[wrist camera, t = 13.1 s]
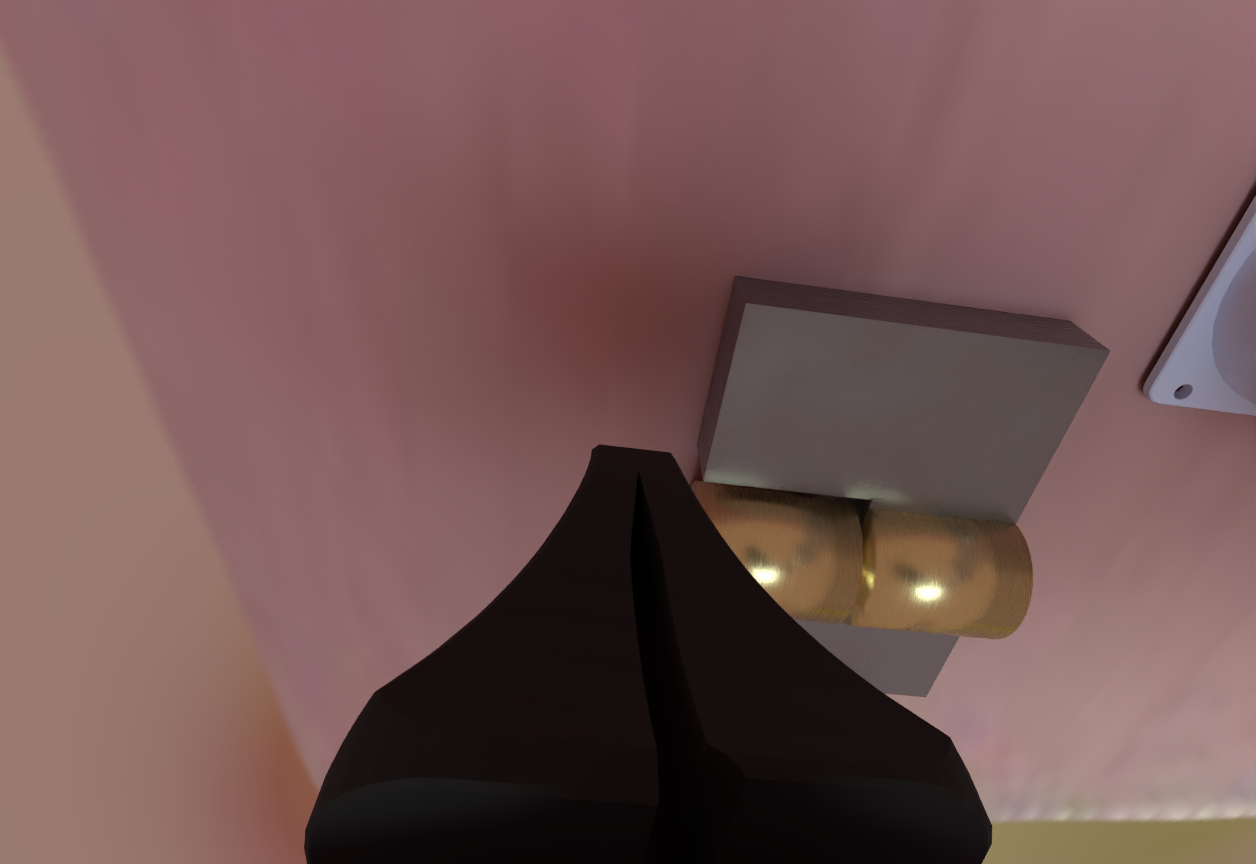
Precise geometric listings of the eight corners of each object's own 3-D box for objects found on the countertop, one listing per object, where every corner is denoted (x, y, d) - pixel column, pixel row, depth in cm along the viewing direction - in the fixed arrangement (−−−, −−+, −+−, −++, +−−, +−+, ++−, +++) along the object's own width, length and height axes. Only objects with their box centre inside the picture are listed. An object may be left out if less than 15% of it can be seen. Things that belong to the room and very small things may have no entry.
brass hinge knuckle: (990, 489, 24) (1052, 573, 20) (907, 654, 28) (946, 745, 25) (696, 456, 23) (709, 537, 20) (656, 630, 27) (661, 722, 24)
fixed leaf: (1070, 321, 21) (1163, 389, 17) (943, 573, 26) (994, 666, 22) (735, 276, 20) (760, 338, 16) (674, 545, 25) (682, 637, 22)
